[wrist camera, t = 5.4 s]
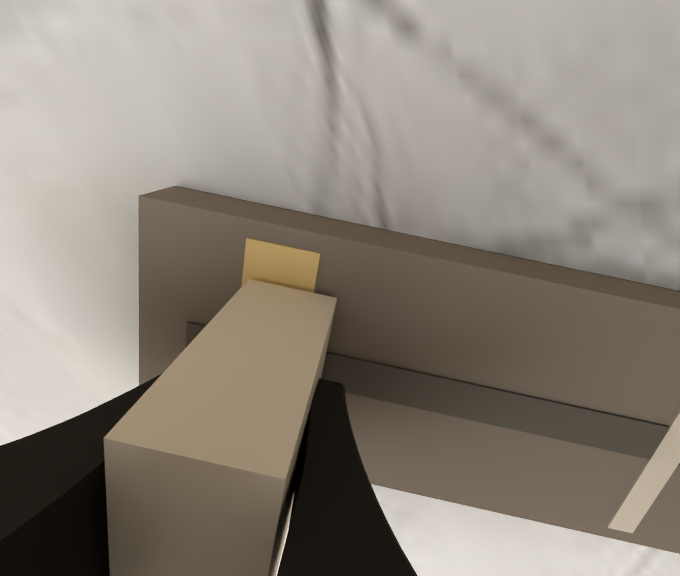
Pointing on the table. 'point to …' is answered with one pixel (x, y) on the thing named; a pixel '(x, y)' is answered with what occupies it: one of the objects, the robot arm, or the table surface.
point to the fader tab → (219, 442)
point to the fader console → (450, 359)
